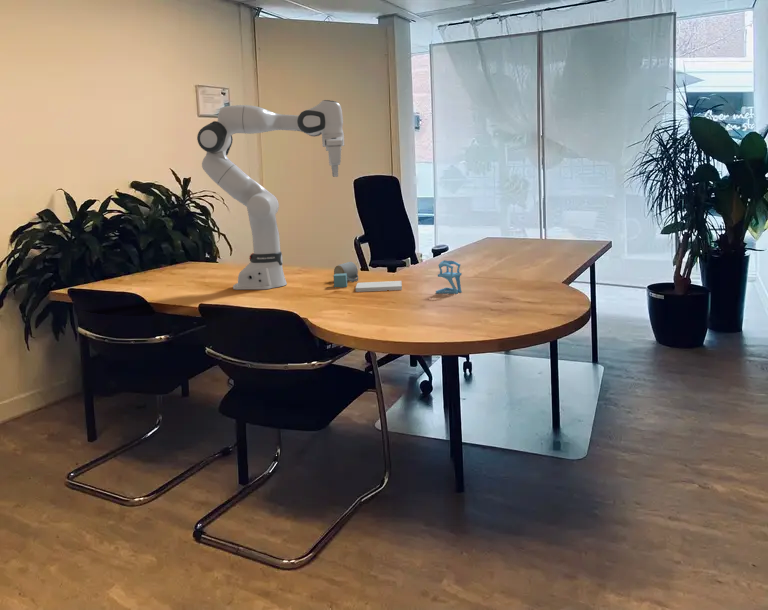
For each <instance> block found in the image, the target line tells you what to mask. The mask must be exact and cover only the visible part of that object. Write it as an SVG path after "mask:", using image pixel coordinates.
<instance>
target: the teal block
mask: <svg viewBox="0 0 768 610" xmlns="http://www.w3.org/2000/svg"><path fill="white" fill-rule="evenodd" d="M333 274H334V273H333ZM335 287H340V288H347V287H348V280H347V273H343V274H334V275H333V288H335Z"/></svg>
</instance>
